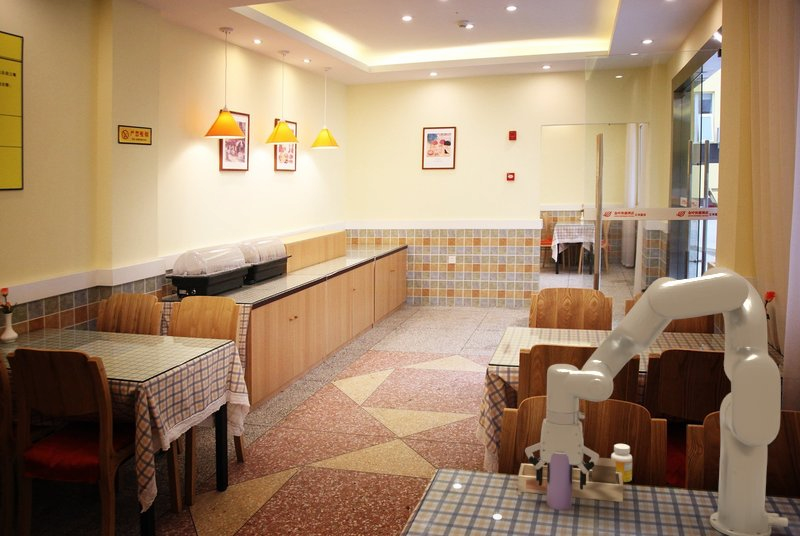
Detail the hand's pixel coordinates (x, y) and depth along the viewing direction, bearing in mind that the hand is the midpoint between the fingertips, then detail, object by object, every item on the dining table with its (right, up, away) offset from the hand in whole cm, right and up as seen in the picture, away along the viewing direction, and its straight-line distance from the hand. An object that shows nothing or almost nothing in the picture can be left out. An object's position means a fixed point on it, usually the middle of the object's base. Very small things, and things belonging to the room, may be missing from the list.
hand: (560, 485), depth 171 cm
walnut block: (+12, -4, +8) cm, 15 cm away
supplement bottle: (+20, -4, +17) cm, 27 cm away
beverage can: (0, -6, +1) cm, 6 cm away
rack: (+4, -5, +10) cm, 12 cm away
